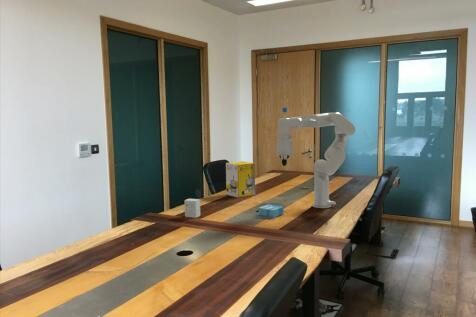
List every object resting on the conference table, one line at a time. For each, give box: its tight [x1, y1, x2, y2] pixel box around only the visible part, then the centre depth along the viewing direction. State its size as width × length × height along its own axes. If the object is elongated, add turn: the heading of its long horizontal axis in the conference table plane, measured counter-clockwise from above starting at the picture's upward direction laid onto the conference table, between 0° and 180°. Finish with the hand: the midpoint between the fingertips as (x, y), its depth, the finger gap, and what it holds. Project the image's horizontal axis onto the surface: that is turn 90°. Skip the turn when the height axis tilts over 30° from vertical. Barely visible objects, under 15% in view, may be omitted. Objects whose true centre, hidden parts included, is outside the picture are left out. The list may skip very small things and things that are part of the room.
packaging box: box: [225, 160, 256, 199], centre depth 310 cm, size 16×16×25 cm
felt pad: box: [252, 212, 276, 220], centre depth 246 cm, size 13×14×1 cm
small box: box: [183, 198, 201, 218], centre depth 246 cm, size 8×6×10 cm
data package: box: [258, 204, 284, 217], centre depth 248 cm, size 12×4×12 cm
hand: (284, 165), depth 257 cm, fingers closed
